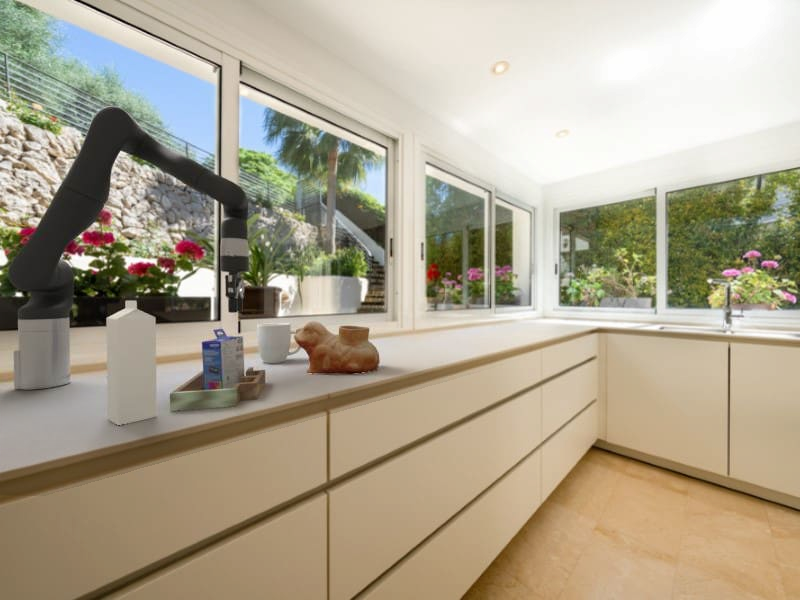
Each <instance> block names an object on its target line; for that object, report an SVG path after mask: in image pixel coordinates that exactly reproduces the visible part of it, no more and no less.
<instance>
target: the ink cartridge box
mask: <svg viewBox="0 0 800 600" xmlns="http://www.w3.org/2000/svg"><path fill="white" fill-rule="evenodd" d="M219 332H220V333H221V334H219ZM213 334H214V335H215V337H216V338H213V339H208V340H204V341H201V350H202V351H201V353H202V355H201V356H202V371H203V377H204V387H203V388H204V389H203V390H214V389H229V388H232V387H233V386H234V385H235V384H236V383H240V378H241V377H242V376H246V373H245V354H244V353H245V352H244V349H245V348H244V336H238V335H237V336H235V335H234V336H233V335H231V336H229V335H228V336H227V334H226V332H225V330H224V329H223V328H219V329H213Z"/></svg>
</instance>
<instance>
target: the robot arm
mask: <svg viewBox="0 0 800 600" xmlns="http://www.w3.org/2000/svg"><path fill="white" fill-rule="evenodd" d="M121 152H123V153H126V154H128V155H130V156H133V157H136V158H138V159H140V160H142V161H145V162H147V163H149V164H151V165H153V166H155V167H157V168H158V169H160V170H162V171H164V172H165V173H167V174H168V175H170V176H171V177H173V178H175V180H178V181H180V183H183V184H184V185H185V186H187V187H190V188H191V189H193V190H194V191H196V192H198V193H199V194H202V195H205V196H207V197H210V198H211V199H213V200H215V201H216V202H218V203H219V204H221V205H222V207H223V209H222V210H223V211H222V214H223V220H222V221H221V224H220V246H219V248H220V249H219V250H220V252H219V253H220V254H219V255H220V271H221V272H222V273H228V274H225V276H224V278H225V286H224V287H225V293H224V295H225V297H226V298H227V301H228V305H227V307H228V309H227V311H228V313H230V314H231V313H233V314H234V313H237V312H242V311H243V310H244V307H243V306H244V305H243V303H244V302H243V299H244V297H245V278H244V277H243V276H242V273H249V271H250V248H249V242H248V241H249V239H248V238H249V236H248V235H249V234H248V229H249V228H248V216H249V200H248V199H249V198H248V197H247V195H246V192H245V190H244V189H243V188H242V187H241V186H239V184H236V183H235V182H233V181H232V180H229V179H228V178H226V177H223V176H221V175H219V174H216V173H214V171H212V170H211V169H209V168H207V167H205V166H204V165H202V164H201V163H199V162H197V161H195V160H194V159H193V158H190V157H188V156H185V155H183V154H181V153H178V152H176V151H174V150H172V149H170V148H169V147H168V146H165V145H164V144H162V143H161V142H159V141H158V140H156V139H155V138H154V137H152V135H151V134H149V133H148V132H147V131H146V130H145V129H143V127H142V126H141V125H140V124H139V122H138V121H137V120H135V118H134V117H133V116H132V115H130V113H128V112H127V111H126V110H124V108H121V107H119V106H115V105H107V106H104V107H102V108H100V109H99V110H97V112H96V113H95V114H94V115H93V117H92V119H91V121H90V125H89V127H88V130H87V132H86V134H85V137H84V140H83V142H82V144H81V147H80V149H79V151H78V153H77V156H75V158H74V160H73V162H72V164H71V166H70V168H69V170H68V172H67V174H66V176H65V177H64V178H63V180H62V182H61V183H60V185H59V187H58V189H56V192H55V194H54V196H53V197H52V199H51V201H50V204H49V206H48V207H47V209H46V210H45V212H44V214H43V216H42V217H41V219H40V221H39V223H38V224H37V226H36V227H35V230H34V231H33V233H32V234H31V236H30V237H29V238H28V240H27V241H26V242H25V243H24V245H23V246H22V248H21V249H20V250H19V252H18V253H17V254H16V255H15V256H14V258H12V259H13V260H12V261H11V262H10V264H9V267H8V272H7V277H8V280H9V282H10V284H12V286H13V287H15V288H16V289H17V290H20V291H24V292H30V297H29V300H28V301H27V302H26V304H24V305H23V306H21V307H19V308H18V310H17V328H18V329H17V333H18V334H17V335H18V337H17V339H18V341H17V342H18V349H16V350H14V351H13V389H14V390H27V391H28V390H40V389H48V388H54V387H60V386H63V385H67V384H69V383H71V349H70V348H71V344H70V342H71V341H70V340H71V337H70V335H71V334H70V312H71V309H72V307H73V304H74V290H75V287H74V286H75V277H74V276H75V274H74V272H73V268H72V266H71V265H70V264H69V263H68V262H67V261H66V260H64V259H61V258H62V256H63V254H64V253H65V251H66V249H67V248H68V247H69V245H70V244H71V243H72V242H73V241H75V239H76V238H78V237H79V236H80V235H81V234H82V233H84V232H86V231H87V230H88V229H90V227H92V226H93V224H95V222H96V221H97V220H98V218H99V216H100V215H101V213H102V211H103V209H104V208H105V206H106V204H107V202H108V199H109V196H110V191H111V179H112V178H111V177H112V171H113V167H114V163H115V162H116V160H117V158H118V157H119V154H120V153H121Z"/></svg>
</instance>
